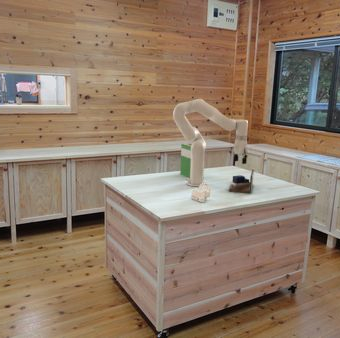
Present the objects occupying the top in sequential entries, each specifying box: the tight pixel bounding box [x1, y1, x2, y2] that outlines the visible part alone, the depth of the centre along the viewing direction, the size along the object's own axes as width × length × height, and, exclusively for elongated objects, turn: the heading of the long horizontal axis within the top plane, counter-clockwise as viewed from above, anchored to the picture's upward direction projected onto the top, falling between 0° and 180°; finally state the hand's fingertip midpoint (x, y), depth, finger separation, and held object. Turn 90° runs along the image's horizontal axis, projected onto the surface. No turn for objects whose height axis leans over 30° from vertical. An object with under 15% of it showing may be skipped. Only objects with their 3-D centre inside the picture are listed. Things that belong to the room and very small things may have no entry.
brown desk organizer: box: [229, 168, 255, 195], centre depth 264 cm, size 14×24×12 cm, turn 166°
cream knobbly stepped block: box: [190, 184, 211, 203], centre depth 235 cm, size 12×6×11 cm, turn 40°
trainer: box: [231, 174, 250, 186], centre depth 267 cm, size 12×5×6 cm, turn 116°
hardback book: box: [179, 143, 192, 178], centre depth 295 cm, size 18×7×24 cm, turn 30°
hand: (240, 162), depth 262 cm, fingers open, 9 cm apart
